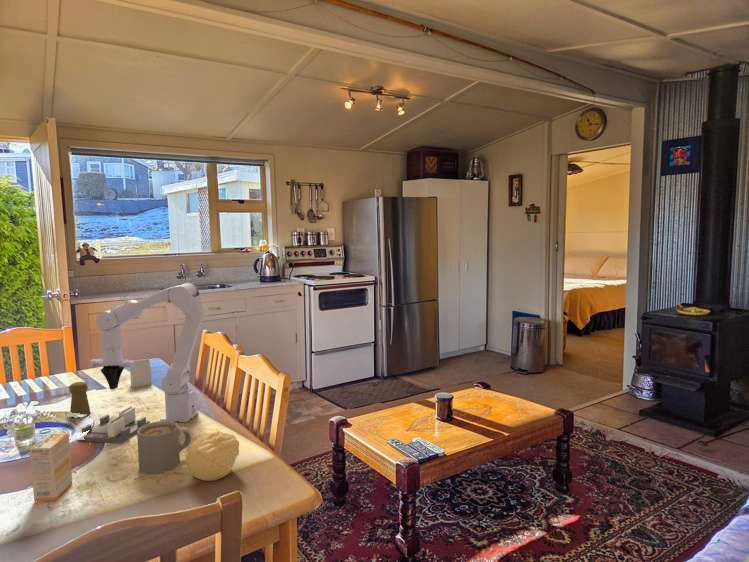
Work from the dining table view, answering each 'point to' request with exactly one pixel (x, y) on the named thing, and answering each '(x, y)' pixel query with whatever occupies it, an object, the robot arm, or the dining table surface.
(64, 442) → the supplement box
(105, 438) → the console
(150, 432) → the coffee mug
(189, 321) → the robot arm
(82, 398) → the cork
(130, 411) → the far fader cap
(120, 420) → the near fader cap
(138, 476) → the dining table surface
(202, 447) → the sculpture
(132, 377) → the beige rectangular box
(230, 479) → the dining table surface
